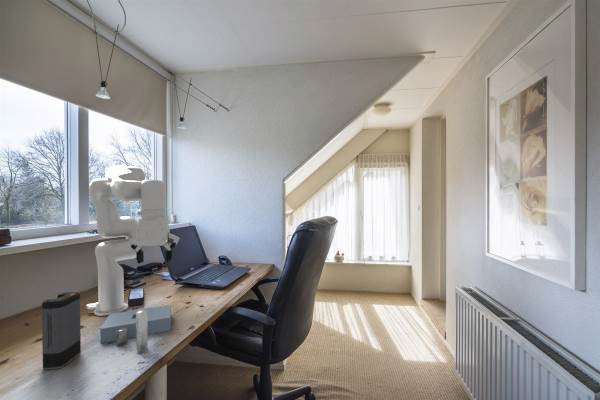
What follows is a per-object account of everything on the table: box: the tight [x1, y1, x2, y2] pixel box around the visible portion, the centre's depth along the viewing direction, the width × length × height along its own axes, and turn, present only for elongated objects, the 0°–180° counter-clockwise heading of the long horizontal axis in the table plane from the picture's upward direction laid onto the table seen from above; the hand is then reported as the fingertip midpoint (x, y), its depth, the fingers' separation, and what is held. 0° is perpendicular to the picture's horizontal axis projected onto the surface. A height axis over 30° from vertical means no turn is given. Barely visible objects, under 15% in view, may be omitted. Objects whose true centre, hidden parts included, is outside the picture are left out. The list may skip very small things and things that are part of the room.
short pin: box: [115, 328, 128, 348], centre depth 95 cm, size 3×3×5 cm
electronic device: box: [41, 291, 82, 370], centre depth 86 cm, size 9×6×20 cm, turn 5°
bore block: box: [99, 304, 172, 344], centre depth 107 cm, size 22×14×5 cm, turn 114°
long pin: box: [135, 309, 149, 355], centre depth 91 cm, size 3×3×13 cm
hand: (154, 261), depth 99 cm, fingers open, 9 cm apart
